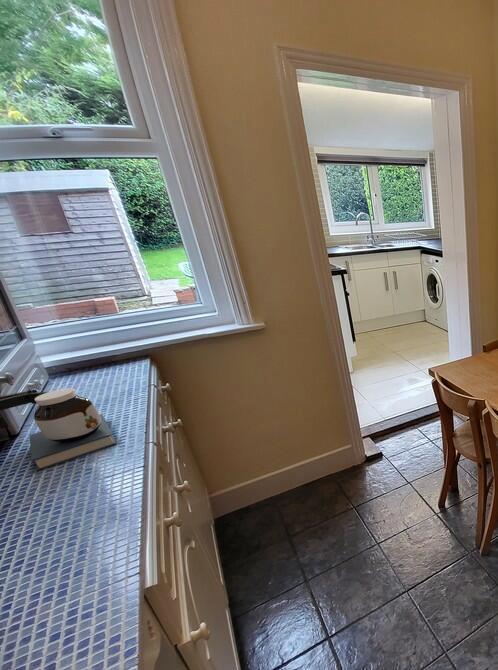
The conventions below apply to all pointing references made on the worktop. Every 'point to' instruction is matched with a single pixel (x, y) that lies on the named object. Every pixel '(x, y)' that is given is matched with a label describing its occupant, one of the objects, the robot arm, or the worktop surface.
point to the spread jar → (66, 416)
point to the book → (68, 447)
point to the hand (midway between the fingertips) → (32, 408)
